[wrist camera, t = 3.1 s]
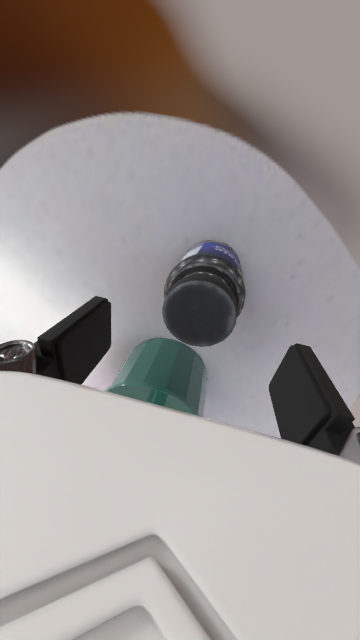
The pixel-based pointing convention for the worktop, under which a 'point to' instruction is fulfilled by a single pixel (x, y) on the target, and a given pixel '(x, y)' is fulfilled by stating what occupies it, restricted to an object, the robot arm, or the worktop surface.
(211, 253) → the pill bottle
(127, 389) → the pot lid
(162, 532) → the robot arm
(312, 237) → the worktop surface
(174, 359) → the pot
